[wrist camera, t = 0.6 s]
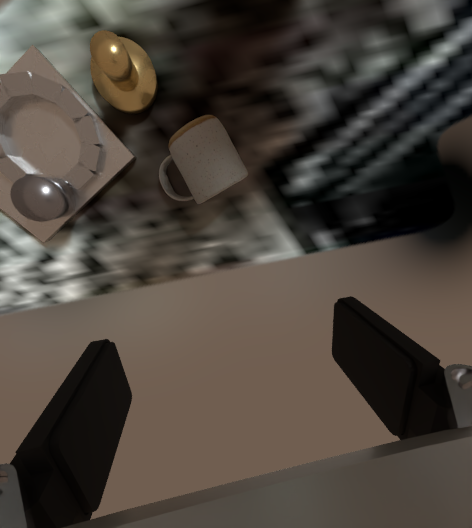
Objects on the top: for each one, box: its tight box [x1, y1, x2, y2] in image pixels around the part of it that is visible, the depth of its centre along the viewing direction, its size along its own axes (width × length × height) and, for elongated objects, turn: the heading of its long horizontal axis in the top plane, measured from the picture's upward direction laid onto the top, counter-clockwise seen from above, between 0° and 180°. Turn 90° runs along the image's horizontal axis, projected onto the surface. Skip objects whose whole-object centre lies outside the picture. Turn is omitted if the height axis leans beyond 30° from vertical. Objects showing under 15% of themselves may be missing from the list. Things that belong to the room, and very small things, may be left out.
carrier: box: [0, 45, 136, 243], centre depth 27 cm, size 17×14×5 cm
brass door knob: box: [90, 31, 158, 114], centre depth 25 cm, size 7×7×7 cm
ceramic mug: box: [159, 115, 248, 204], centre depth 29 cm, size 11×8×8 cm
